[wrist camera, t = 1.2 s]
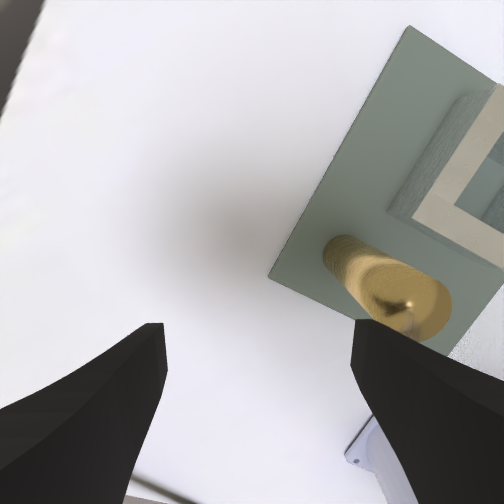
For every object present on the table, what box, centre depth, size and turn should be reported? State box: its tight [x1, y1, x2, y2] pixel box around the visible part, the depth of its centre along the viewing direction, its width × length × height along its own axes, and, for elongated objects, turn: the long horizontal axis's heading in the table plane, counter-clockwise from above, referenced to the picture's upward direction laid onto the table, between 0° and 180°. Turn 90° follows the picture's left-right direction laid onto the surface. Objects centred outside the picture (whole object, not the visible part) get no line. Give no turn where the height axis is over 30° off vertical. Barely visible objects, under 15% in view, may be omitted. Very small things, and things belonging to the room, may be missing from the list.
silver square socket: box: [386, 83, 504, 272], centre depth 18 cm, size 8×8×3 cm
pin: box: [322, 235, 452, 342], centre depth 16 cm, size 3×3×9 cm
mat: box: [268, 25, 504, 356], centre depth 20 cm, size 16×18×1 cm
